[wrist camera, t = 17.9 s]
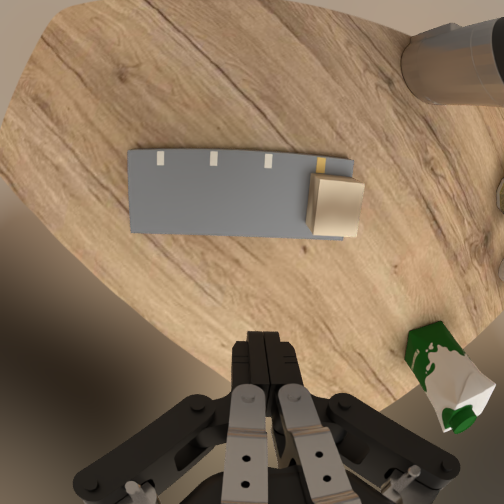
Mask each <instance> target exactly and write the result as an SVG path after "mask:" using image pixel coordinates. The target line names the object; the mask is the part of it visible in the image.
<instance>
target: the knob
mask: <svg viewBox="0 0 504 504" xmlns="http://www.w3.org/2000/svg"><path fill="white" fill-rule="evenodd" d="M364 186H365V184H364V183H362V182H360V181H358V180H356V179H354V178H352V177H345V176H336V175H326V174H315V173H311V177H310V187H309V196H308V205H307V214H306V223H305V224H306V225H307V227H308V228H309V229H310V231H311V232H312V234H313V235H321V236H341V237H357V231H358V225H359V219H360V213H361V207H362V200H363V193H364Z"/></svg>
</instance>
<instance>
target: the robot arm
mask: <svg viewBox="0 0 504 504" xmlns="http://www.w3.org/2000/svg"><path fill="white" fill-rule="evenodd" d="M401 67H402V73H403V76H404V79H405V82H406V84H407V86H408V87H409V89H410V90H411V91H412V93H413V94H414V95H415V96H416V97H417V98H419V99H420V100H422V101H423V102H426V103H428V104H433V105H474V106H492V107H504V17H501V18H497V19H493V20H489V21H484V22H481V23H477V24H473V25H469V26H465V27H461V26H459V25H457V24H455V23H449V24H446V25H443V26H440V27H437V28H434V29H431V30H429V31H426V32H423V33H420V34H418V35H416V36H412V37H411V43H410V45H409V46H408V47H407V48H406V49H405V51H404V53H403V55H402V60H401ZM231 384H232V385H231V387H232V388H231V392H230V393H229V394H228V395H227V396H225V397H223V398H220V399H216V400H211V399H210V398H209V397H207V396H205V395H199V394H195V395H190V396H188V397H186V398H185V399H183V400H182V401H181V402H179V403H178V404H177V405H175V406H174V407H173V408H172V409H170V410H169V411H167V412H166V413H165V414H163V415H162V416H161V417H159V418H158V419H156V420H155V421H154V422H152V423H151V424H149V425H148V426H147V427H145V428H144V429H142V430H141V431H140V432H138V433H137V434H135V435H134V436H133V437H131V438H130V439H128V440H127V441H125V442H124V443H122V444H121V445H119V446H118V447H117V448H115V449H114V450H112V451H111V452H109V453H108V454H106V455H104V456H103V457H102V458H100V459H98V460H97V461H95V462H94V463H92V464H91V465H89V466H88V467H86V468H84V469H83V470H81V471H80V472H78V473H77V474H76V476H75V477H74V479H73V488H74V491H75V492H76V494H77V495H78V496H79V497H80V498H81V499H82V500H83V502H84V503H85V504H161V501H160V499H159V498H158V495H160V494H161V493H162V492H163V491H165V490H166V489H167V488H168V487H169V486H171V485H172V484H173V483H174V482H176V481H177V480H178V479H179V478H180V477H182V476H183V475H184V474H185V473H186V472H187V471H188V470H190V469H191V468H192V467H193V466H194V465H196V464H197V463H198V462H199V461H200V460H201V459H202V458H203V457H204V456H206V455H207V454H208V453H209V452H210V451H211V450H212V449H213V448H214V447H215V445H219V444H223V443H227V444H226V455H225V465H224V472H220V473H217V474H215V475H212V476H210V477H209V478H207V479H206V480H204V481H203V482H202V483H201V484H199V485H198V486H197V487H196V488H195V489H194V490H193V491H192V492H191V493H190V494H189V495H188V496H187V497H186V498H185V499H184V500H183V501H182V502H180V503H179V504H432V503H433V501H434V500H435V498H436V496H437V495H438V493H439V491H440V490H442V489H443V488H444V487H445V486H446V485H447V484H448V483H450V482H451V481H452V480H453V479H454V478H455V477H456V476H457V475H458V474H459V471H460V463H459V461H458V459H457V458H456V457H455V456H453V455H452V454H450V453H448V452H446V451H444V450H442V449H441V448H439V447H437V446H435V445H433V444H432V443H430V442H428V441H427V440H425V439H423V438H421V437H420V436H418V435H416V434H414V433H413V432H411V431H409V430H408V429H405V428H404V427H403V426H401V425H399V424H398V423H396V422H394V421H393V420H391V419H389V418H387V417H386V416H384V415H383V414H381V413H379V412H378V411H376V410H375V409H373V408H371V407H370V406H368V405H367V404H365V403H363V402H362V401H360V400H359V399H357V398H356V397H354V396H352V395H350V394H347V393H338V394H335V395H333V396H332V397H331V398H330V399H326V398H320V397H316V396H314V395H312V394H310V392H309V391H308V389H307V388H305V387H304V385H303V381H302V377H301V373H300V369H299V365H298V361H297V358H296V353H295V349H294V348H293V346H292V345H291V344H290V343H289V342H280V337H279V333H278V332H266V331H263V332H262V331H247V340H246V341H236V343H235V345H234V346H233V348H232V367H231ZM265 417H271V418H272V425H271V434H272V438H273V442H274V447H275V452H276V456H277V461H278V469H277V468H271V467H268V457H267V456H268V454H267V453H268V450H267V432H266V429H265ZM343 464H345V465H346V466H347V467H349V468H350V469H352V470H353V471H355V472H356V473H358V474H359V475H361V476H362V477H364V478H365V479H367V480H369V481H370V482H372V483H373V484H375V485H376V486H378V487H379V488H381V490H380V491H381V493H380V492H378V491H377V490H375V489H374V488H373V487H371V486H370V485H368V484H367V483H365V482H364V481H363V480H361V479H360V478H358V477H357V476H356V475H354V474H353V473H351V472H350V471H348V470H345V469H344V466H343Z"/></svg>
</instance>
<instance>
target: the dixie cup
mask: <svg viewBox="0 0 504 504" xmlns="http://www.w3.org/2000/svg"><path fill="white" fill-rule="evenodd" d="M499 277H500V279H501V280H502V281H503V282H504V259H503V260H502V262H501V264H500V267H499Z"/></svg>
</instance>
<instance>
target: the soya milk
mask: <svg viewBox="0 0 504 504" xmlns="http://www.w3.org/2000/svg"><path fill="white" fill-rule="evenodd" d="M405 361H406V362H407V364H408V365H409V367H410V368H411V370H412V371H413V373H414V374H415V376H416V378H417V379H418V381H419V383H420V384H421V386H422V388H423V389H424V391H425V393H426V395H427V396H428V398H429V400H430V402H431V403H432V405H433V407H434V409H435V411H436V414H437V416H438V419H439V422H440V424H441V427H442V430H443V432H446V431H449V430H451V429H452V430H453V432H454V433H455V434H458V433H461V432H463V431H464V430H466V429H467V428H469V427H470V426H471V425H472V424H473V423H474V421H475V420H476V418H477V415H479V414H481V413H482V411H483V409H484V407H485V405H486V404H487V402H488V400H489V398H490V396H491V394H492V392H493V390H494V388H495V386H496V384H495V383H494V382H493V381H491V380H490V379H489V378H487V377H486V376H485V375H483V374H482V373H481V372H480V371H479V369H478V368H477V367H476V366H475V364H474V363H473V362H472V360H471V359H470V358H469V357H468V355H467V354H466V353H465V352H464V350H463V349H462V348H461V347H460V345H459V344H458V343H457V342H456V340H455V339H454V338H453V336H452V335H451V333H450V332H449V331H448V329H447V328H446V326H445V325H444V324H443V322H442V321H439V322H436V323H433V324H430V325H427V326H424V327H421V328H418V329H415V330H412V331H409V336H408V342H407V348H406V354H405Z"/></svg>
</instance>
